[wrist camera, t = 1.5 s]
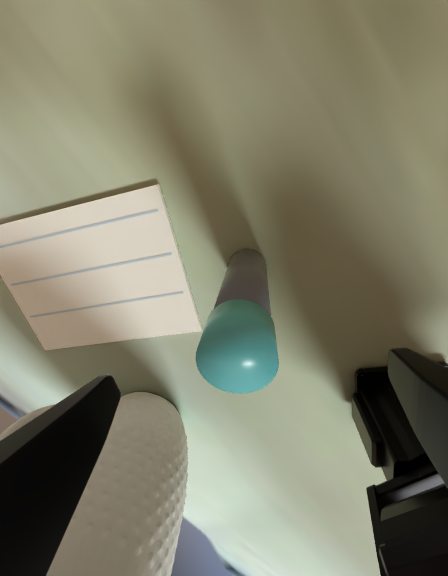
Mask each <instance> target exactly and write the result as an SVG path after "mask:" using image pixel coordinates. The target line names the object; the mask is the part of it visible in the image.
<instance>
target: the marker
mask: <svg viewBox="0 0 448 576" xmlns="http://www.w3.org/2000/svg"><path fill="white" fill-rule="evenodd" d="M196 364H197V367H198V370H199V371H200V373H201V375H202V376H203V377H204V378H205V379H206V380H207V381H208V382H209V383H210V384H211V385H213V386H215V387H216V388H218V389H221V390H223V391H226V392H231V393H250V392H254V391H257V390H260V389H262V388H264V387H265V386H267V385H268V384H269V383H270V382H271V381H272V380H273V378H274V377H275V375H276V373H277V370H278V364H279V362H278V352H277V344H276V335H275V326H274V322H273V319H272V317H271V312H270V301H269V291H268V281H267V271H266V263H265V260H264V258H263V256H262V255H261V254H260V253H259V252H257V251H255V250H252V249H243V250H240V251H238V252H236V253H235V254H234V255H233V256H232V257H231V259H230V262H229V265H228V268H227V271H226V274H225V277H224V280H223V283H222V286H221V289H220V292H219V295H218V298H217V301H216V304H215V307H214V309H213V311H212V312H211V313H210V315H209V317H208V320H207V323H206V325H205V328H204V331H203V334H202V337H201V340H200V342H199V345H198V348H197V352H196Z"/></svg>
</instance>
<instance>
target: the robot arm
mask: <svg viewBox="0 0 448 576" xmlns="http://www.w3.org/2000/svg"><path fill="white" fill-rule="evenodd" d="M362 375H364V376H362ZM120 398H121V393H120V390H119V388H118V386H117V384H116V382H115V380H114V378H113V377H112V376H111V375H104V376H99V377H97V378H96V379H94V380H93V381H91V382H89V383H88V384H86V385H85V386H83V387H82V388H80V389H79V390H77V391H76V392H74V393H73V394H71V395H70V396H68V397H67V398H65V399H64V400H62V401H60V402H59V403H57V404H56V405H54V406H53V407H51V408H50V409H48V410H47V411H45V412H44V413H42V414H41V415H39V416H38V417H36V418H34V419H33V420H31V421H30V422H28V423H27V424H25V425H24V426H22V427H21V428H19V429H18V430H16V431H15V432H13V433H12V434H10V435H8V436H7V437H5V438H4V439H2V440H1V441H0V576H46V575H47V573H48V571H49V568H50V566H51V564H52V562H53V559H54V557H55V555H56V553H57V550H58V548H59V546H60V544H61V541H62V539H63V537H64V534H65V532H66V530H67V528H68V525H69V523H70V521H71V519H72V516H73V514H74V512H75V510H76V507H77V505H78V503H79V501H80V498H81V496H82V494H83V492H84V489H85V487H86V485H87V483H88V480H89V478H90V476H91V474H92V471H93V469H94V467H95V465H96V462H97V460H98V458H99V456H100V453H101V451H102V449H103V446H104V444H105V441H106V439H107V436H108V433H109V430H110V427H111V425H112V422H113V419H114V416H115V413H116V410H117V407H118V404H119V401H120ZM352 416H353V419H354V422H355V424H356V427H357V429H358V432H359V434H360V437H361V439H362V442H363V444H364V447H365V449H366V452H367V454H368V457H369V459H370V462H371V464H372V465H373V466H375V467H381V468H382V470H383V472H384V475H385V477H386V479H387V481H386V482H383V483H381V484H379V485H372V486H369V487H367V495H368V501H369V508H370V514H371V520H372V527H373V533H374V539H375V545H376V552H377V558H378V562H379V568H380V574H381V576H448V364H447V363H445V362H439V363H437V362H435V361H433V360H431V359H429V358H426V357H424V356H422V355H420V354H418V353H416V352H414V351H412V350H410V349H408V348H394V349H390V350H389V353H388V367H378V368H366V369H359V370H357V371H356V372H355V393H353V395H352Z"/></svg>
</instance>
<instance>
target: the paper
mask: <svg viewBox="0 0 448 576" xmlns="http://www.w3.org/2000/svg"><path fill="white" fill-rule="evenodd" d="M0 275H1V277H2V279H3V280H4V282H5V284H6V285H7V287H8V289H9V291H10V292H11V294H12V296H13V297H14V299H15V301H16V302H17V304H18V306H19V307H20V309H21V311H22V312H23V314H24V316H25V318H26V319H27V321H28V323H29V324H30V326H31V328H32V329H33V331H34V333H35V334H36V336H37V338H38V339H39V341H40V343H41V345H42V346H43V348H44V350H53V349H61V348H69V347H77V346H85V345H93V344H101V343H109V342H117V341H125V340H133V339H141V338H149V337H157V336H165V335H173V334H181V333H189V332H197V331H202V326H201V323H200V320H199V316H198V313H197V309H196V306H195V303H194V299H193V296H192V292H191V289H190V286H189V282H188V279H187V276H186V272H185V269H184V265H183V262H182V259H181V255H180V252H179V248H178V245H177V242H176V238H175V235H174V232H173V228H172V225H171V221H170V218H169V215H168V211H167V208H166V204H165V201H164V198H163V194H162V191H161V188H160V184H157V185H153V186H149V187H146V188H142V189H138V190H134V191H130V192H126V193H122V194H118V195H114V196H110V197H106V198H103V199H99V200H95V201H91V202H87V203H83V204H79V205H75V206H71V207H67V208H63V209H60V210H56V211H52V212H48V213H44V214H40V215H36V216H32V217H28V218H24V219H20V220H17V221H13V222H9V223H5V224H1V225H0Z"/></svg>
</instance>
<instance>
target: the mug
mask: <svg viewBox="0 0 448 576" xmlns="http://www.w3.org/2000/svg"><path fill="white" fill-rule="evenodd" d="M53 406H54V405H50V406H46V407H43V408H40V409H37V410H35V411H33V412H31V413H29V414H27V415H25V416H23V417H22V418H20V419H19V420H17V421H16V422H14V423H13V424H12V425H11V426H9V427H8V428H7V429H6V430H5V431H4V432H3V433H1V434H0V441H1V440H2V439H4V438H5V437H7V436H8V435H10V434H12V433H13V432H15V431H16V430H18V429H19V428H21V427H22V426H24V425H25V424H27V423H28V422H30V421H31V420H33V419H34V418H36V417H38V416H39V415H41V414H42V413H44V412H45V411H47V410H48V409H50V408H51V407H53ZM187 450H188V447H187V437H186V434H185V429H184V425H183V422H182V419H181V416H180V414H179V413H178V411H177V410H176V408H175V407H174V406H173V405H172V404H171V403H170V402H169V401H167V400H166V399H164V398H162V397H160V396H158V395H155V394H152V393H148V392H134V393H129V394H126V395H124V396H121V398H120V401H119V404H118V407H117V410H116V413H115V416H114V419H113V422H112V425H111V427H110V430H109V433H108V436H107V439H106V441H105V444H104V446H103V449H102V451H101V453H100V456H99V458H98V460H97V462H96V465H95V467H94V469H93V471H92V474H91V476H90V478H89V480H88V483H87V485H86V487H85V489H84V492H83V494H82V496H81V498H80V501H79V503H78V505H77V507H76V510H75V512H74V514H73V516H72V519H71V521H70V523H69V525H68V528H67V530H66V532H65V534H64V537H63V539H62V541H61V544H60V546H59V548H58V550H57V553H56V555H55V557H54V559H53V562H52V564H51V566H50V568H49V571H48V573H47V575H46V576H170V575H171V571H172V565H173V563H174V556H175V550H176V547H177V543H178V536H179V533H180V525H181V521H182V514H183V511H184V504H185V498H186V488H187V486H186V484H187V477H188V473H187V466H188V455H187V454H188V452H187Z"/></svg>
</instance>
